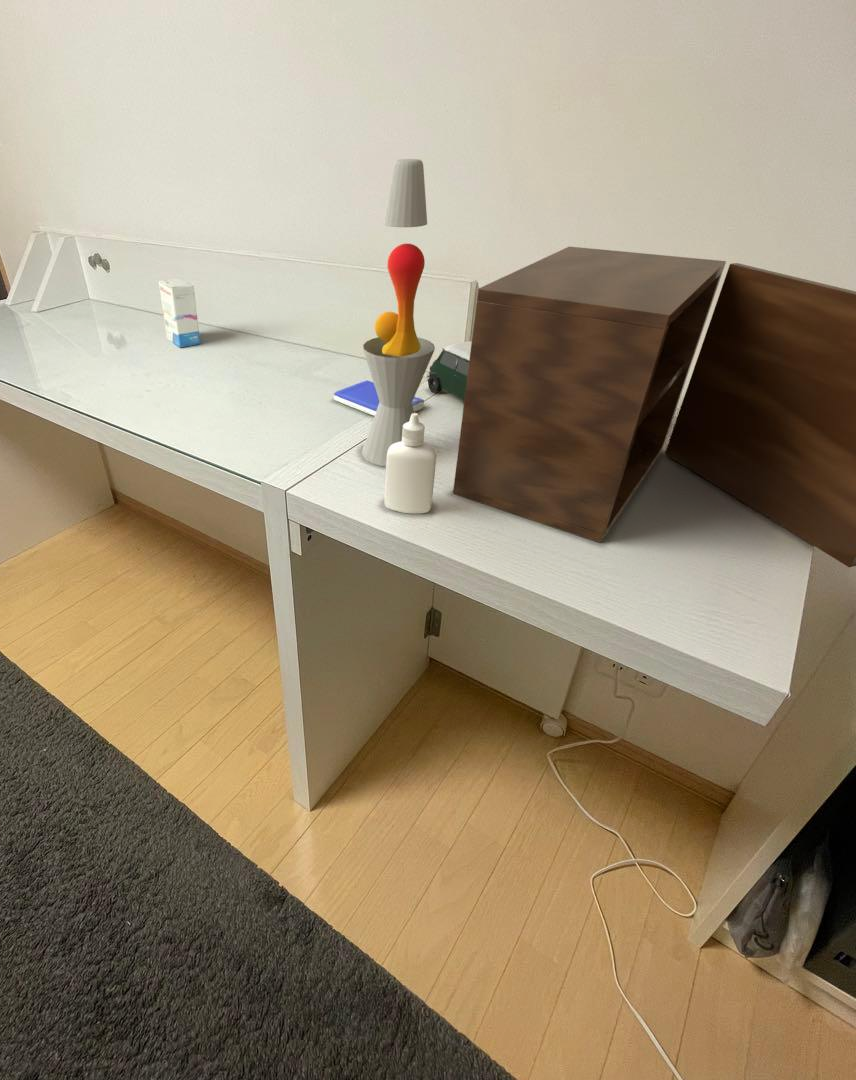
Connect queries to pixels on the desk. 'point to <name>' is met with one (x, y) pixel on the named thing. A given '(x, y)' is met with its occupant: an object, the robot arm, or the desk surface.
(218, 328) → the desk surface
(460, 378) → the miniature car
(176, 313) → the ink box
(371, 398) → the blue book
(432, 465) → the eye dropper bottle
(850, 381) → the door
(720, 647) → the desk surface
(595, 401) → the cupboard
